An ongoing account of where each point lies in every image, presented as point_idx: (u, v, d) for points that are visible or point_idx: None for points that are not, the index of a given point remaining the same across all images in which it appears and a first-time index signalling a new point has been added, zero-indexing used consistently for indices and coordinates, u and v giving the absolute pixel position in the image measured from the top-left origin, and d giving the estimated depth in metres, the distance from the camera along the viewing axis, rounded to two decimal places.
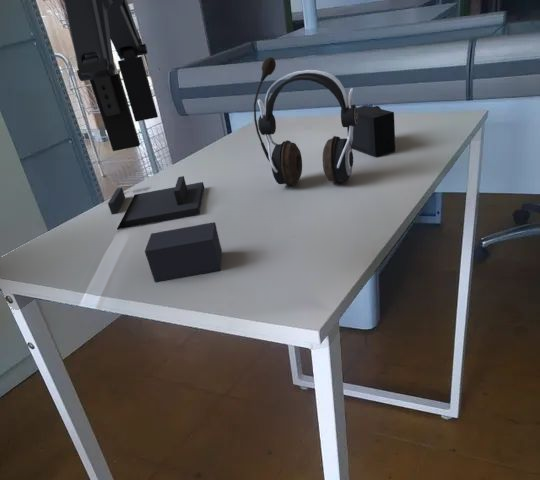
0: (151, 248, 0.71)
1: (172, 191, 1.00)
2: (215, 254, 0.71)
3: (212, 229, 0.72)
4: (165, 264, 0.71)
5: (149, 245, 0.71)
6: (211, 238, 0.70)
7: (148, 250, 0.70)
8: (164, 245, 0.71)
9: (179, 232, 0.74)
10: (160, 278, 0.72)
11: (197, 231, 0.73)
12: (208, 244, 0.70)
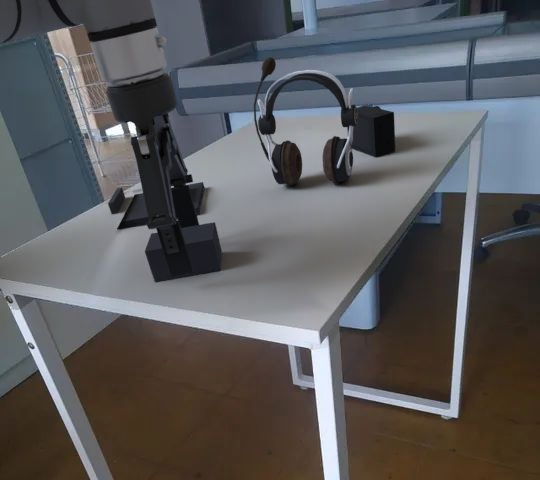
0: (151, 248, 0.71)
1: None
2: (215, 254, 0.71)
3: (212, 229, 0.72)
4: (165, 264, 0.71)
5: (149, 245, 0.71)
6: (211, 238, 0.70)
7: (148, 250, 0.70)
8: None
9: None
10: (160, 278, 0.72)
11: (197, 231, 0.73)
12: (208, 244, 0.70)
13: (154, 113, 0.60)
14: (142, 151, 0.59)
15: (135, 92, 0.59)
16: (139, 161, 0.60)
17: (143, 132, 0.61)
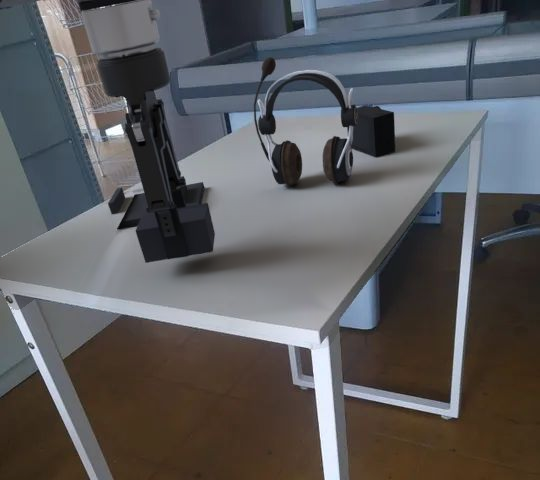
0: (142, 227, 0.69)
1: None
2: (207, 235, 0.69)
3: (205, 209, 0.71)
4: (156, 245, 0.70)
5: (140, 225, 0.70)
6: (203, 218, 0.68)
7: (138, 230, 0.69)
8: (155, 224, 0.69)
9: None
10: (151, 259, 0.71)
11: (189, 211, 0.71)
12: (200, 224, 0.68)
13: (146, 88, 0.59)
14: (137, 139, 0.59)
15: (126, 65, 0.57)
16: (134, 148, 0.60)
17: (134, 107, 0.60)
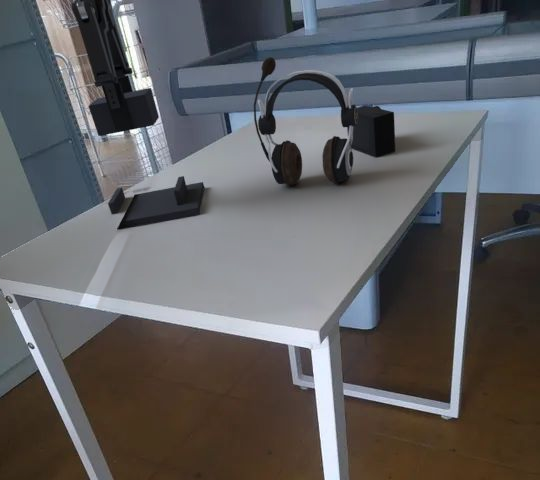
0: (94, 103, 0.84)
1: (172, 191, 1.00)
2: (148, 109, 0.84)
3: (147, 90, 0.85)
4: (106, 119, 0.84)
5: (93, 103, 0.85)
6: (144, 94, 0.83)
7: (91, 105, 0.83)
8: (105, 101, 0.84)
9: None
10: (103, 132, 0.85)
11: (134, 93, 0.86)
12: (141, 99, 0.83)
13: None
14: (82, 16, 0.74)
15: None
16: (80, 24, 0.74)
17: None
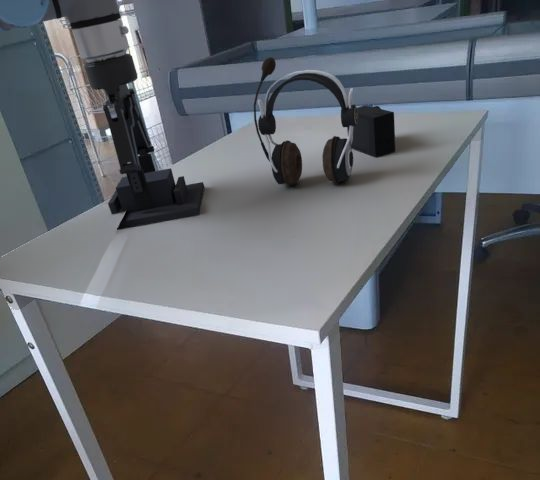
0: (121, 185, 0.93)
1: None
2: (169, 190, 0.93)
3: (168, 172, 0.94)
4: (131, 199, 0.93)
5: (119, 184, 0.93)
6: (166, 178, 0.92)
7: (118, 187, 0.92)
8: None
9: None
10: (128, 210, 0.94)
11: (156, 174, 0.95)
12: (163, 182, 0.92)
13: (119, 82, 0.83)
14: (112, 116, 0.82)
15: (104, 66, 0.81)
16: (110, 123, 0.83)
17: (111, 96, 0.84)
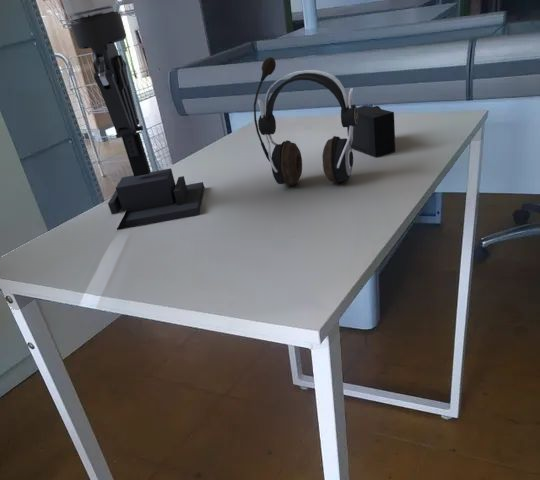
0: (121, 185, 0.93)
1: None
2: (169, 190, 0.93)
3: (168, 172, 0.94)
4: (131, 199, 0.93)
5: (119, 184, 0.93)
6: (166, 178, 0.92)
7: (118, 187, 0.92)
8: (130, 183, 0.93)
9: (143, 175, 0.96)
10: (128, 210, 0.94)
11: (156, 174, 0.95)
12: (163, 182, 0.92)
13: (106, 40, 0.79)
14: (104, 84, 0.81)
15: (91, 23, 0.78)
16: (102, 91, 0.82)
17: (98, 55, 0.80)
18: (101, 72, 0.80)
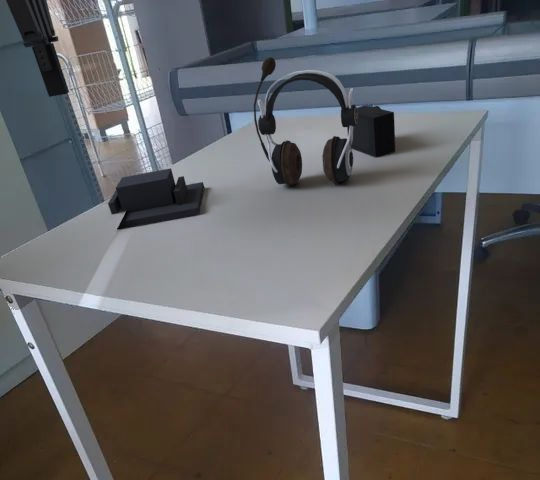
0: (121, 185, 0.93)
1: None
2: (169, 190, 0.93)
3: (168, 172, 0.94)
4: (131, 199, 0.93)
5: (119, 184, 0.93)
6: (166, 178, 0.92)
7: (118, 187, 0.92)
8: (130, 183, 0.93)
9: (143, 175, 0.96)
10: (128, 210, 0.94)
11: (156, 174, 0.95)
12: (163, 182, 0.92)
13: None
14: None
15: None
16: None
17: None
18: None
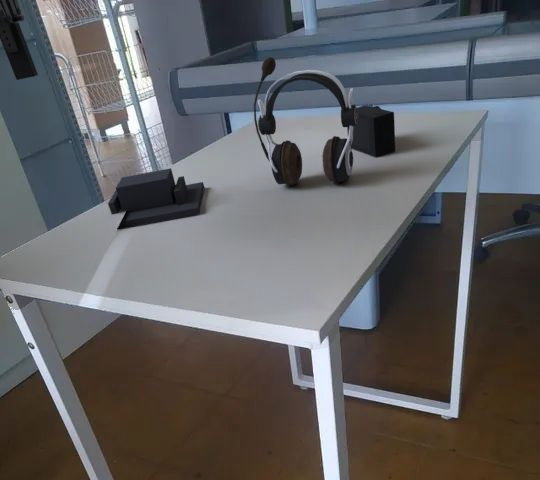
0: (121, 185, 0.93)
1: None
2: (169, 190, 0.93)
3: (168, 172, 0.94)
4: (131, 199, 0.93)
5: (119, 184, 0.93)
6: (166, 178, 0.92)
7: (118, 187, 0.92)
8: (130, 183, 0.93)
9: (143, 175, 0.96)
10: (128, 210, 0.94)
11: (156, 174, 0.95)
12: (163, 182, 0.92)
13: None
14: None
15: None
16: None
17: None
18: None
